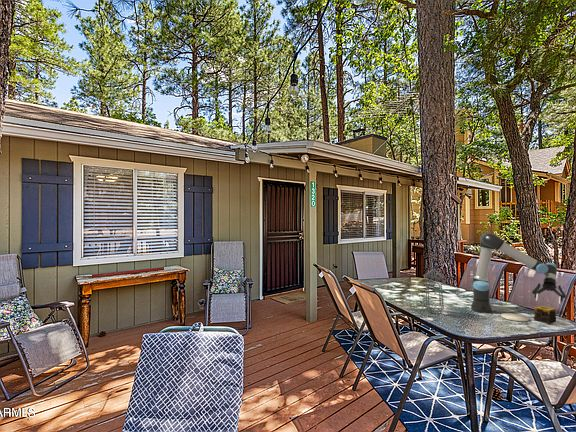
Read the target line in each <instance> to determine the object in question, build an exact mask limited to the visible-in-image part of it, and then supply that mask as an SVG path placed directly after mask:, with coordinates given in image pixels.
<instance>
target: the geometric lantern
mask: <svg viewBox="0 0 576 432" xmlns="http://www.w3.org/2000/svg"><path fill="white" fill-rule="evenodd" d="M423 277H424V281H425V284H426V289H425V309H428V311H429V313H430V314H435V315H440V314H442V311H443V310H444V309H445V307H444V297H443V282H444V281H445V276H444V275H443V274H442V273H440V271H438V270H437V269H434V268H433V269H431V270H428V271H427V272H426V273H424V274H423ZM426 279H427V280H429V283H427V280H426ZM439 280H441V282H440V284H439V282H438V281H439ZM432 282H436V283H437V284H435V283H434V284H433V283H432ZM430 285H431V286H430ZM436 286H438V291H439V292H438V294H439V295H438V299H439V304H436V306H438V307H430V306H432V304H430V288H436ZM434 310H438V312H439V313H438V312H437V313H436V312H434Z"/></svg>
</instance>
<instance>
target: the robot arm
mask: <svg viewBox="0 0 576 432" xmlns="http://www.w3.org/2000/svg"><path fill="white" fill-rule="evenodd" d="M479 241H480V242H479V248H480V252H479V256H478V257H479V258H478V262H477V269H476V272H475V276H473V278H472V281H471V284H470V288H471V291H472V292H473V293H472V295H473V296H472V299H473V300H472V302H471V305H470V310H471V311H473V312H477V313H482V314H485V313H486V314H490V313H492V312H493V307H492V305H491V302H490V299H491V295H490V292H491V291H490V288H491V287H490V283H489V281H490V280H489V279H488V276H489V275H488V274H489V271H490V270H489V269H490V267H491V266H490V265H491V259H492V256H493V251H500V252H501V253H503V254H504V255H507V256H509V257H510V258H512V259H514V260H515V261H518V262H520V263H521V264H523V265H525V266H526V267H527V269H529V270H533V271H534V272H537V273H539V274H542V275H543V274H544V275H543V283H538V284H537V286H535V288H534V289H533V290H532V291H531V293H532V295H534V299H535V302H536V303H538V302H539V295H540V294H541V293H543V292H544V291H549V292H553V293H555V294H556V295H557V296H558V306H561V304H562V303H561V302H563V300H564V299H566V298H567V295H566V293H565V291H564V290H563V289H562V288H561V287H562V286H561V284H560V285H557V274H558V273H557V272H558V266H557V264H556V263H554V262H546V263H544V262H541V261H540V260H537V259H535V258H534V257H532V256H530V255H528V254H527V253H524V252H522V251H521V250H519V249H517V248H515V247H513V246H512V245H510V244H509V243H507V242H506V241H505V240H504V239H502V238H501V237H499V236H497V235H496V234H495V233H492V232H484V233H483V234H481V236H480V238H479ZM557 289H558V290H557Z"/></svg>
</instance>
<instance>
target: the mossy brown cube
mask: <svg viewBox="0 0 576 432" xmlns="http://www.w3.org/2000/svg"><path fill="white" fill-rule="evenodd" d="M533 309H534V311H533V312H534V315H533V319H534V321H535V322H539V323H542V324H543V323H544V324H548V325H551V324H555V323H556V322H557V313H556V312H557V311H556V310H557V309H556V308H553V307H548V306H543V305H539V306H535V307H533Z"/></svg>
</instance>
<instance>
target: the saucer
mask: <svg viewBox="0 0 576 432" xmlns="http://www.w3.org/2000/svg"><path fill="white" fill-rule="evenodd" d="M500 317H501V318H503V319H504V320H508V321H512V322H513V321H514V322H529V321H531V320H530V317H528V316H525V315H523V314H518V313H510V312H509V313H508V312H505V313H501V314H500Z"/></svg>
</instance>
